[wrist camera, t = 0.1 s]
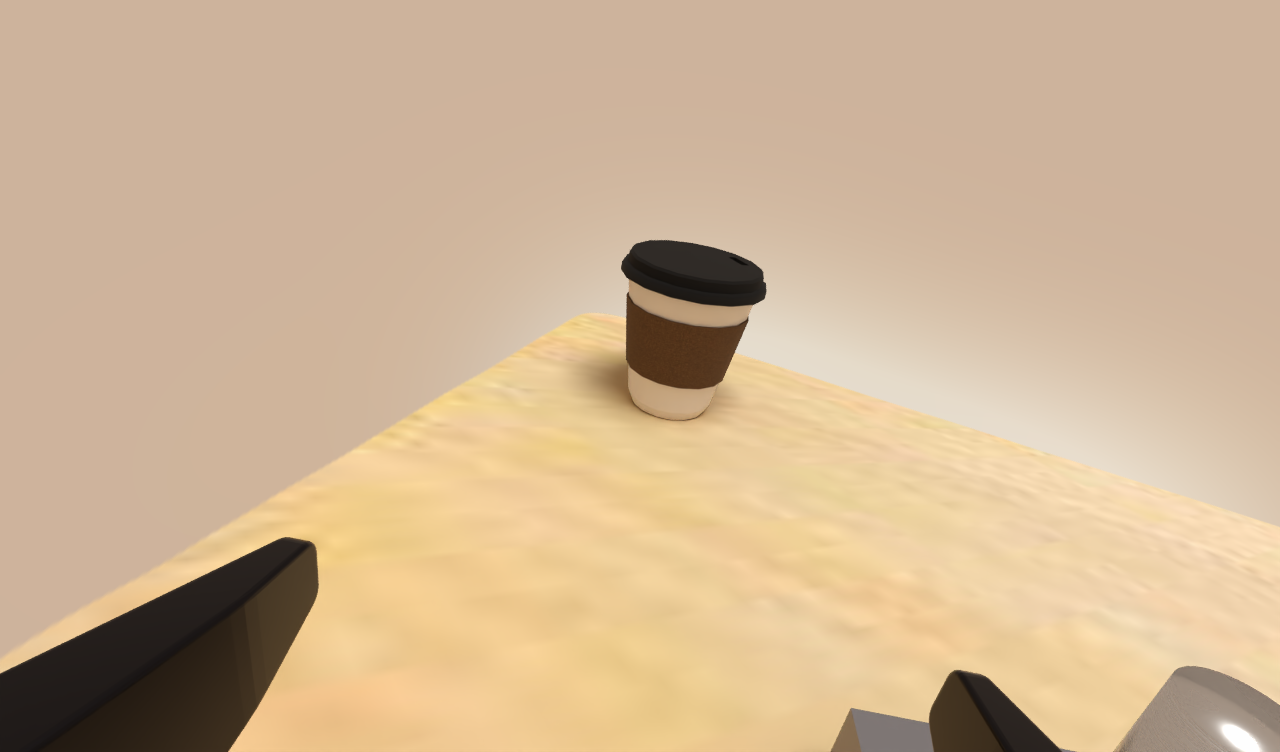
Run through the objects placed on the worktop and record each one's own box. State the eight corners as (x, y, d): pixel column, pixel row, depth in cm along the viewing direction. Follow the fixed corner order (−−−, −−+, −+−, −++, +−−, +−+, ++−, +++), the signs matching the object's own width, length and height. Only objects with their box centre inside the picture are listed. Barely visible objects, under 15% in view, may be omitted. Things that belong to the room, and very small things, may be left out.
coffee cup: (693, 369, 58) (722, 241, 53) (759, 431, 50) (801, 286, 45) (582, 373, 54) (602, 234, 49) (634, 443, 45) (665, 282, 40)
